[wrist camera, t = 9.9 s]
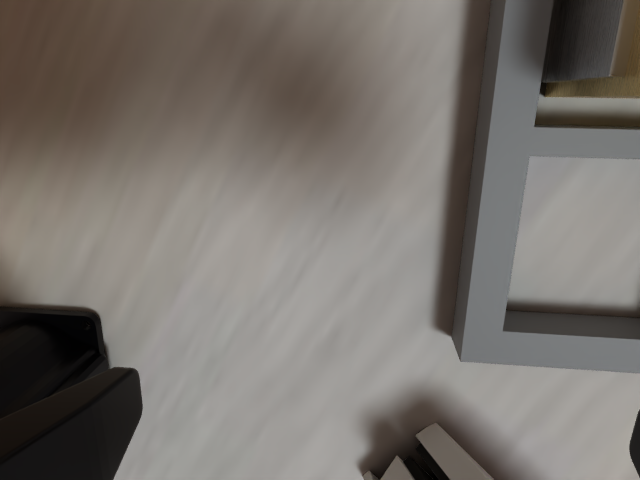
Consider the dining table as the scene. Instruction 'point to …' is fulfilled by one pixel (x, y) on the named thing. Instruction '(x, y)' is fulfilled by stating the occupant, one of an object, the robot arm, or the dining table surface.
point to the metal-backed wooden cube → (593, 49)
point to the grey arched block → (435, 460)
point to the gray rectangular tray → (506, 202)
